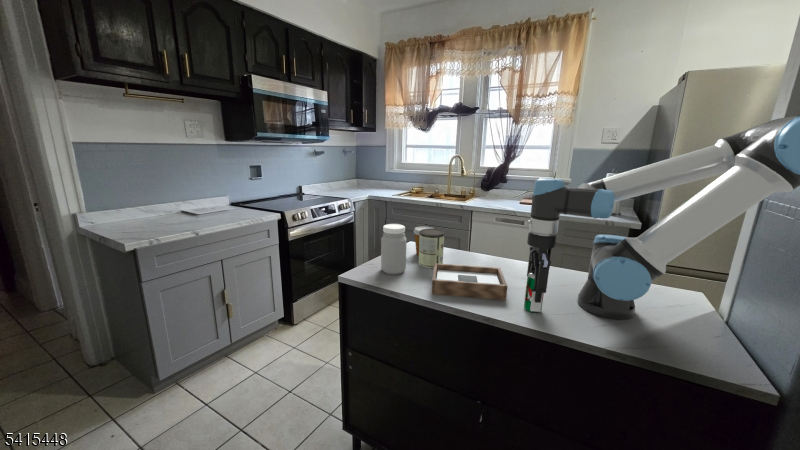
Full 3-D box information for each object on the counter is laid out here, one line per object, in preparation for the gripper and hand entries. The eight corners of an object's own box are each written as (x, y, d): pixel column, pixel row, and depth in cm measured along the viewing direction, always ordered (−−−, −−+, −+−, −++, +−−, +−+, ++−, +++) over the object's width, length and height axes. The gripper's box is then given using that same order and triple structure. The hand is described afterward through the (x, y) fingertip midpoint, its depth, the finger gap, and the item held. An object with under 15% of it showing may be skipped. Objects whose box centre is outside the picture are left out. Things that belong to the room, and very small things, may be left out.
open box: (498, 280, 120) (500, 267, 119) (505, 300, 105) (507, 286, 103) (433, 275, 123) (434, 263, 122) (431, 294, 108) (432, 280, 107)
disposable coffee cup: (438, 255, 146) (439, 230, 143) (420, 259, 141) (421, 232, 138) (425, 249, 153) (427, 225, 151) (408, 252, 149) (409, 227, 146)
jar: (388, 264, 134) (389, 222, 129) (409, 268, 130) (411, 225, 125) (376, 272, 125) (376, 227, 121) (398, 277, 121) (399, 230, 117)
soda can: (542, 308, 100) (547, 272, 97) (540, 315, 95) (545, 278, 92) (525, 304, 102) (529, 268, 99) (522, 311, 98) (526, 274, 95)
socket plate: (495, 281, 119) (496, 274, 118) (501, 298, 106) (502, 289, 105) (437, 277, 122) (437, 269, 121) (435, 292, 109) (436, 284, 108)
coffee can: (418, 259, 141) (419, 227, 137) (442, 260, 140) (444, 229, 136) (417, 268, 131) (418, 234, 127) (443, 269, 130) (445, 235, 126)
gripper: (522, 224, 102) (514, 292, 108) (536, 240, 85) (526, 320, 90) (547, 225, 101) (538, 294, 107) (567, 242, 84) (555, 323, 89)
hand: (532, 306), depth 98 cm, fingers closed on soda can, 5 cm apart
